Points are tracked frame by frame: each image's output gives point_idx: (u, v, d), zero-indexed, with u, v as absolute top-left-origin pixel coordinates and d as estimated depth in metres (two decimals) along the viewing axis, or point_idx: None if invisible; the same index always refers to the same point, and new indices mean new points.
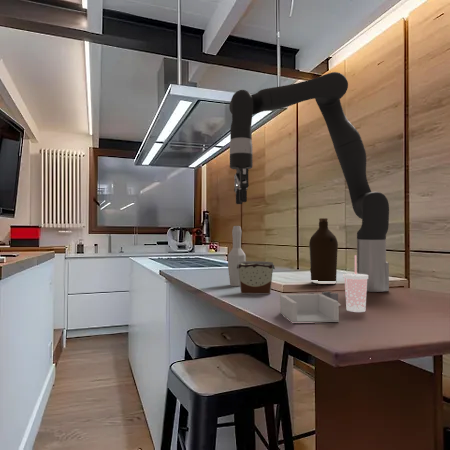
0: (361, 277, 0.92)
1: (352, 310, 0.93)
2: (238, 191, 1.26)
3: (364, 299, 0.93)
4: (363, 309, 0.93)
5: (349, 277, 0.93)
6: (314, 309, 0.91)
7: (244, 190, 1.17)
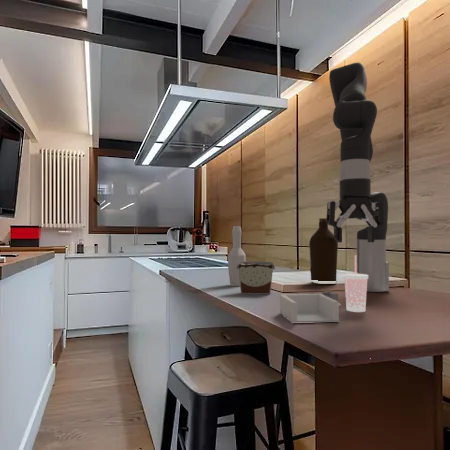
0: (361, 277, 0.92)
1: (352, 310, 0.93)
2: None
3: (364, 299, 0.93)
4: (363, 309, 0.93)
5: (349, 277, 0.93)
6: (314, 309, 0.91)
7: None
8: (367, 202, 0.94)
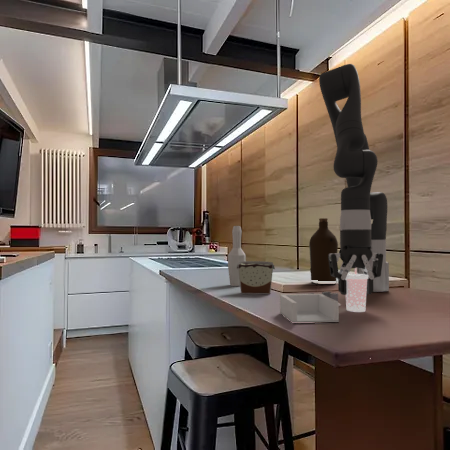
0: (361, 277, 0.92)
1: (352, 310, 0.93)
2: None
3: (364, 299, 0.93)
4: (363, 309, 0.93)
5: (349, 277, 0.93)
6: (314, 309, 0.91)
7: None
8: (368, 252, 0.94)
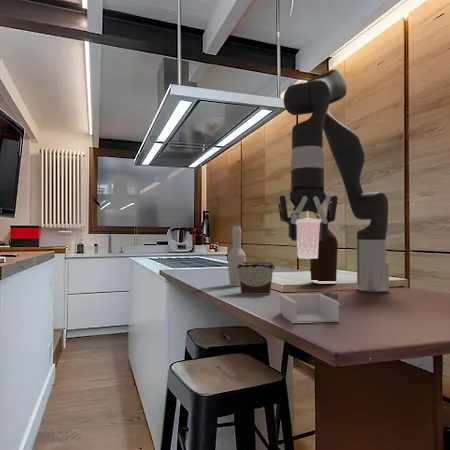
0: (312, 220, 0.83)
1: (303, 257, 0.85)
2: None
3: (316, 245, 0.84)
4: (315, 256, 0.84)
5: (299, 220, 0.84)
6: (314, 309, 0.91)
7: None
8: (321, 193, 0.86)
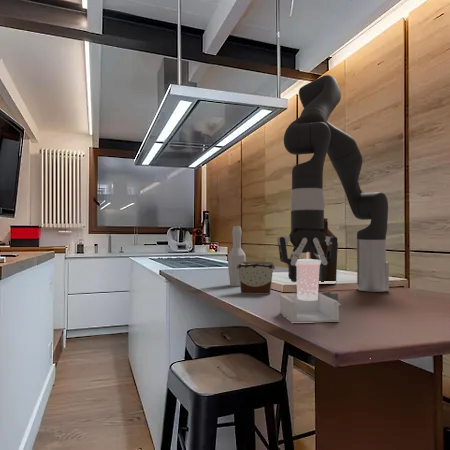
0: (312, 262, 0.83)
1: (302, 298, 0.84)
2: None
3: (316, 286, 0.84)
4: (315, 297, 0.84)
5: (299, 262, 0.84)
6: (314, 309, 0.91)
7: None
8: (321, 235, 0.86)
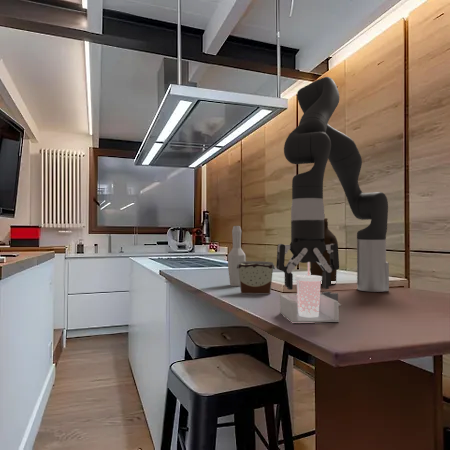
0: (313, 279, 0.83)
1: (304, 315, 0.84)
2: None
3: (317, 303, 0.84)
4: (316, 314, 0.84)
5: (300, 279, 0.84)
6: None
7: None
8: (321, 245, 0.86)
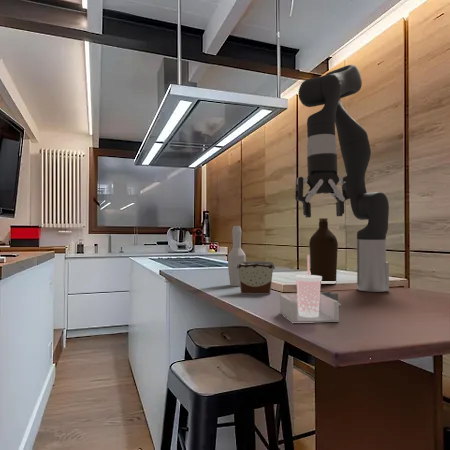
0: (313, 279, 0.83)
1: (304, 315, 0.84)
2: None
3: (317, 303, 0.84)
4: (316, 314, 0.84)
5: (300, 279, 0.84)
6: None
7: None
8: (334, 177, 0.96)
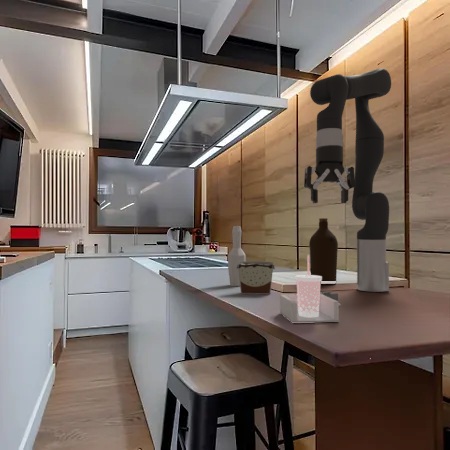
0: (313, 279, 0.83)
1: (303, 315, 0.84)
2: None
3: (317, 303, 0.84)
4: (316, 314, 0.84)
5: (300, 279, 0.84)
6: None
7: None
8: (340, 167, 1.06)
